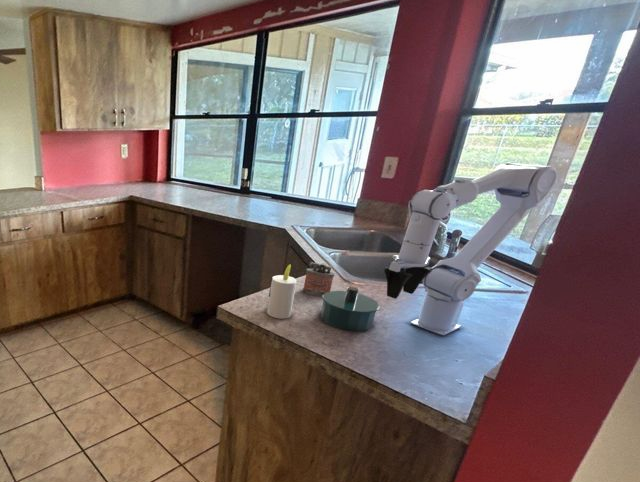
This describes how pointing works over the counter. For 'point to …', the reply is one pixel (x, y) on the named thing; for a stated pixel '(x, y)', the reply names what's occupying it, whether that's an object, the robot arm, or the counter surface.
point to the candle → (281, 295)
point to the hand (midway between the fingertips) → (399, 294)
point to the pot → (347, 318)
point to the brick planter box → (318, 279)
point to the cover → (351, 301)
